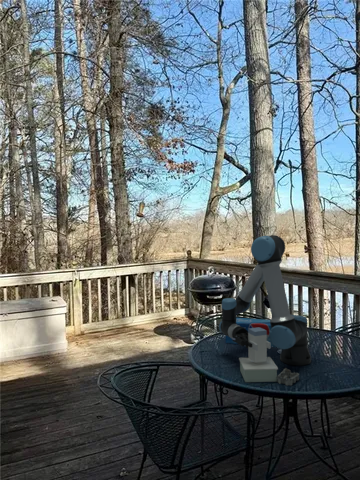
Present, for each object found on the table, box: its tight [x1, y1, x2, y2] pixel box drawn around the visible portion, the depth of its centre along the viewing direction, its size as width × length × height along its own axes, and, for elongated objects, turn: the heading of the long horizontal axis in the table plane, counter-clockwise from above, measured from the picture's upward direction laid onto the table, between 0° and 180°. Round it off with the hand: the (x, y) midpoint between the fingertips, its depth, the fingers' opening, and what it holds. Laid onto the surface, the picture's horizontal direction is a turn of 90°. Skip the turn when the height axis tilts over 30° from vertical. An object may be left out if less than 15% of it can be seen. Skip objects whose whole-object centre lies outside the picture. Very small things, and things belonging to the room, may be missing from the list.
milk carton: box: [247, 327, 268, 363], centre depth 182 cm, size 6×6×14 cm
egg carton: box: [276, 367, 300, 386], centre depth 177 cm, size 11×8×4 cm
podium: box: [238, 356, 279, 383], centre depth 183 cm, size 15×15×6 cm
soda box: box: [225, 317, 276, 348], centre depth 233 cm, size 40×14×13 cm, turn 71°
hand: (263, 346), depth 178 cm, fingers closed on milk carton, 6 cm apart
